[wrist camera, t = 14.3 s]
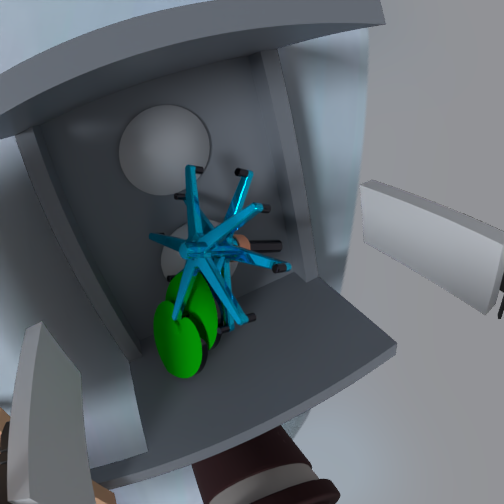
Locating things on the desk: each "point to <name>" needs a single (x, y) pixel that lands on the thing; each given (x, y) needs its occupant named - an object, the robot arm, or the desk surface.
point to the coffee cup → (262, 474)
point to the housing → (175, 211)
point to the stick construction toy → (207, 278)
